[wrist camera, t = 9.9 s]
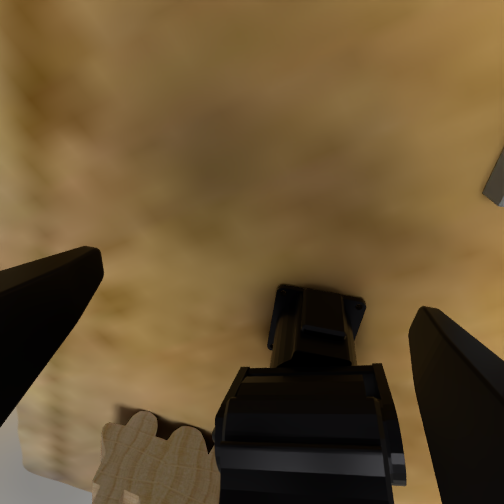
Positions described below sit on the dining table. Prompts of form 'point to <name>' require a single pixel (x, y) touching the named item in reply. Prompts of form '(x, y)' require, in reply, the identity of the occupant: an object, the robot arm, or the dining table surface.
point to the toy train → (154, 465)
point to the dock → (496, 183)
